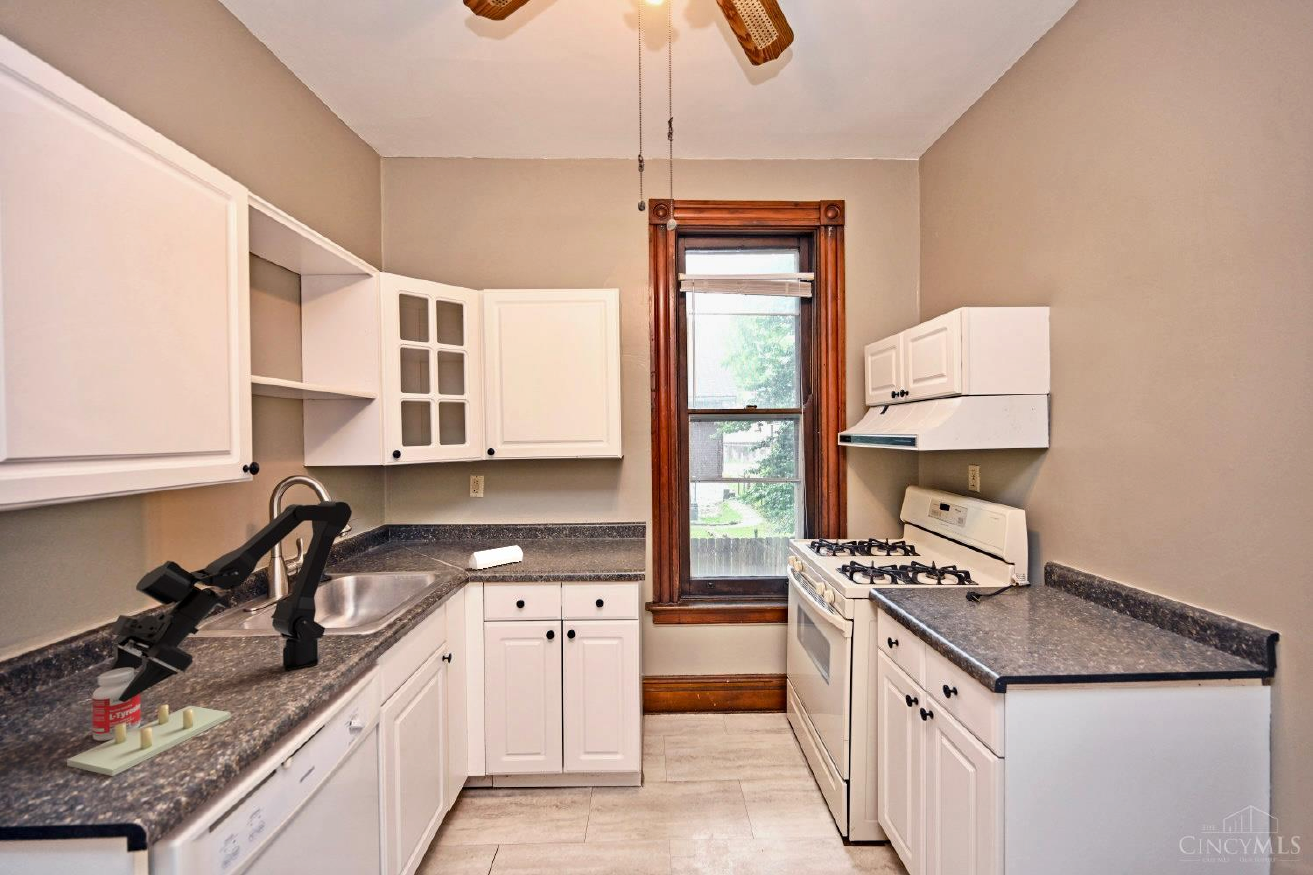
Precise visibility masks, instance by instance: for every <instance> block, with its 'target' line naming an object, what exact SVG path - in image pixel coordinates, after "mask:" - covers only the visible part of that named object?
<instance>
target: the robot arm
mask: <svg viewBox="0 0 1313 875" xmlns="http://www.w3.org/2000/svg"><path fill="white" fill-rule="evenodd" d="M352 514H353V509H352V508H351V506H350V505H349V504H348V503H347V502H344V501H334V500H324V501H321V502H320V503H317V504H297V503H291V504H289V505H287V506H286V507H285V508H284V510H283V511H282V512H281V513H280V514H278V515H277V516H276V517H275V518H274V519H272V520H271V521H270V522H269V523H268V524H267V525H265V526H264V527H263V528H262V529H260V530H259V531H258V532H257V533H255V534H254V535H253V536H252V537H251V538H249V539H248V541H246V542H245V543H244V544H242V545H241V546H239V547H238V548H236V549H233V550H231V551H230V552H227V553H225V554H223V555H221V556H220V557H218V558H216V559H215V560H213V561H212V562H210V563H209V564H208V565H207V566H206V567H204V568H200V569H197V570H194V571H191V572H189V571H187V570H186V569H184V568H182V566H180V564H179V563H177V562H175V561H173V560H166V561H165V562H164V563H163V564H161V565H160V566H157V567H155V568H154V569H152V570H151V571H150V572H147V573H146V574H145V575H144V576H142V578H140V580H139V581H138V583H137V585H136V587H135V590H136V591H138V592H140V593H141V594H143V595H145V596H147V597H148V598H151V599H153V600H154V601H155V602H158V603H159V604H162V605H163V606H167V605H171V604H172V603H173V604H174V605H173V607H172V608H170V609H169V610H168V611H167V613H164V612H161V613H158V614H157V615H156V616H155V615H153V614H151V615H149V614H144V613H143V614H141V615H140V616H133V615H125V614H120V615H118V618H117V619H116V621H115V623H114V625H113V626H112V628H111V630H110V633H111V634H113V633H115V634H116V635H117V636H116V637H115V638H114V639H113V640H111V643H113V645H112V646H111V649H112V651H113V657H114V658H113V659H112V662H111V664H110V665H109V667H108V668H107V671H106V672H108V671H111V670H115V669H119V668H127V667H131V668H134V671H135V670H136V669H138V668H140V667H141V669H140V670H139V671H138V673H137V674H136V675H135V676H134V677H133V680H132V682H131V683H130V684H129V685H128V687H127V688H126V689H125V690H124V692H123V693H122V695H121V696H120V697H119V701H122V702H126V701H128V700H129V699H131V698H133V697H134V696H136V695H138V694H140V695H141V693H143V692H145V691H146V690H148V689H150V688H152V687H154V686H155V685H157V684H159V683H161V682H163V681H164V680H167V679H168V678H171V677H173V676H176V675H178V674H179V672H178V671H180V672H183V673H185V672H186V670H188V668H189V667H190V666H191V665H192V664H193V662H194V661H193V659H194V658H193V655H192V654H190V653H188V652H186V651H184V650H182V649H181V648H179V647H180V646H181V644H182V643H183V642H184V641H185V640H186V639H187V638H188V637H189V636H190V635H196V634H197V633H198V632H199V630H200V629H198V628H197V627H198V626H199V625H200V624H201V622H202V621H204V619H205V618H206V617H207V616H208V615H209V614H210V613H211V611H213V609H214V608H215V607H216V606H218V607H223V608H226V609H227V608H229V607H230V606H231V605H230V599H229V598H230V595H229V593H224V592H223V593H218V592H216V591H214V590H213V589H211V588H215V589H218V590H219V589H220V590H224V591H231V590H236V589H238V588H239V587H241V586H243V584H244V583H246V581H247V579H249V577H251V575H252V574H253V572H255V569H256V567H257V565H258V563H259V562H260V561H261V559H262V558H263V557H264V556H266V555H267V554H268V553H269V552H270V551H271V550H272V549H274V548H275V547H276V546H277V545H278V544H279V543H280V542H281V541H283V540H284V539H285V538H286V537H287V536H289V534H290V533H292V532H293V531H294V530H295V529H296V528H297V527H299V525H301V524H302V523H303V522H304V521H306V522H308V521H309V522H310V521H311V527H312V529H311V530H312V538H311V540H310V542H309V545H308V549H307V551H306V553H305V556H304V559H303V561H302V564H301V566H300V569H299V572H298V574H297V575H298V576H297V578H296V580H295V583H294V586H293V589H292V591H291V592H290V595H289V596H287V598H286V599H285V600H282V599H280V600H278V601H277V602H276V606H275V609H274V612H273V614H272V615H271V616H270V618H271V619H272V624H271V625H272V627H273V628H274V631H276V632H277V633H280V636H281V638H282V639H286V641H285V645H283V648H282V665H283V666H284V671H285V672H286V671H287V672H288V671H291V670H297V669H301V668H308V667H312V666H317V665H319V662H320V655H321V654H320V652H319V651H320V650H319V647H320V646H319V644H320V643H319V642H320V641H319V639H320V638H323V637H324V634H325V630H326V627H324V626H323V625H321V624H320V623H319V622H317V621H315V618H316V613H317V612H316V611H317V608H316V601H315V597H316V594H317V590H318V589H319V588H318V587H319V586H320V585H319V584H320V582H321V579H322V577H323V573H324V571H325V569H326V565H327V563H328V559H329V558H330V557H329V556H330V554H331V551H332V548H333V545H334V542H335V540H336V538H337V537H338V536H339V535H341V533H342V532H343V531H344V530H345V528H346V527H347V525H348V523H349V522H350V519H351V517H352ZM196 584H197V585H201V586H206V588H203V589H201V588H199V587H198V586H196ZM209 587H211V588H209ZM116 645H117V646H116ZM151 658H153V659H151ZM177 670H178V671H177ZM99 687H100V685H99V684H98V685H97V687H96V689H97V688H99Z"/></svg>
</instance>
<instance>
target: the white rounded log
mask: <svg viewBox="0 0 1313 875" xmlns="http://www.w3.org/2000/svg"><path fill="white" fill-rule="evenodd" d="M523 558H524V553H523V551H522V549H521V547H520V546H518V544H517V545H512V546H511V545H510V546H505V547H499V548H493V549H488V550H480V551H475V552H473V553H471V555H470V558H469V560H468V565H469V568H470V569H471V568H472V569H471V570H473V569H482V570H484V569H483V568H487V569H489V568H488V567H492V566H496V565H501V564H506V563H510V562H518V563H520V562H519V561H523ZM492 568H493V567H492Z"/></svg>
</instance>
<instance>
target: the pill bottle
mask: <svg viewBox="0 0 1313 875" xmlns="http://www.w3.org/2000/svg"><path fill="white" fill-rule="evenodd" d="M135 676H136V675H135V670H134V668H131V667H127V668H119V669H115V670H111V671H108V672H107V671H106V672H103V673H101V674H100V675H98V676H97V685H98V686H99V685H100V687H99V688H97V687H96V689H95V690H94V692H93V693H92V698H91V700H92V714H91V715H92V738H93V740H95V741H98V742H99V741H101V742H102V741H110V740H113V739H115V725H117V724H119V723H124V722H125V723H126V733H128V732H131V731H133V730H135V729H138V728H140V727H141V693H140V694H138V695H136V696H134V697H133V698H131V699H129V700H128V701H126V702H122V701H119V697H120V696H121V695H122V693H123V692H124V690H125V689H126V688H127V687H128V685H129V684H130V683H131V682H132V680H133V679H134V678H135Z"/></svg>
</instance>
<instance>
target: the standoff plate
mask: <svg viewBox="0 0 1313 875" xmlns="http://www.w3.org/2000/svg"><path fill="white" fill-rule="evenodd" d="M157 713H158V714H157V717H158V718H157V719H156V720H154V721H152V722H150V723H147V724H145V725H142V726H139V727H138V728H137V729H135V730H133V731H131V732H128V733H126V723H125V722H124V723H119V724H117V725H115V739H111V740H107V741H106V742H104V743H102V744H99V745H97V746H94V747H92V748H89V749H88V750H86V751H84V752H81V753H78V754H76V755H75V756H72V757H69V758H67V759H66V766H67V767H71V768H76V769H80V770H85V771H89V772H93V773H97V774H101V775H107V776H110V777H114V776H115V775H119V774H120V773H123V772H124V771H126V770H128V769H130V768H132V767H134V766H136V765H138V764H140V763H143V762H145V761H146V760H148V759H150V758H152V757H154V756H156V755H158V754H161V753H162V752H165V751H167V750H169V749H171V748H172V747H175V746H177V745H179V744H181V743H183V742H184V741H185V742H186V741H187V740H190V738H193V737H195V736H197V735H199V734H201V733H203V732H205V731H206V730H209V729H211V728H213V727H215V726H217V725H219V724H222V723H224V722H225V721H227V720H230V719H231V718H232V712H230V711H223V710H218V709H211V708H206V707H200V706H196V705H195V706H194V705H188V706H185V707H183V708H181V709H178V710H176V711H173V712H171V713H170V714H169V704H162V705H159V706H158V708H157Z"/></svg>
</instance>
